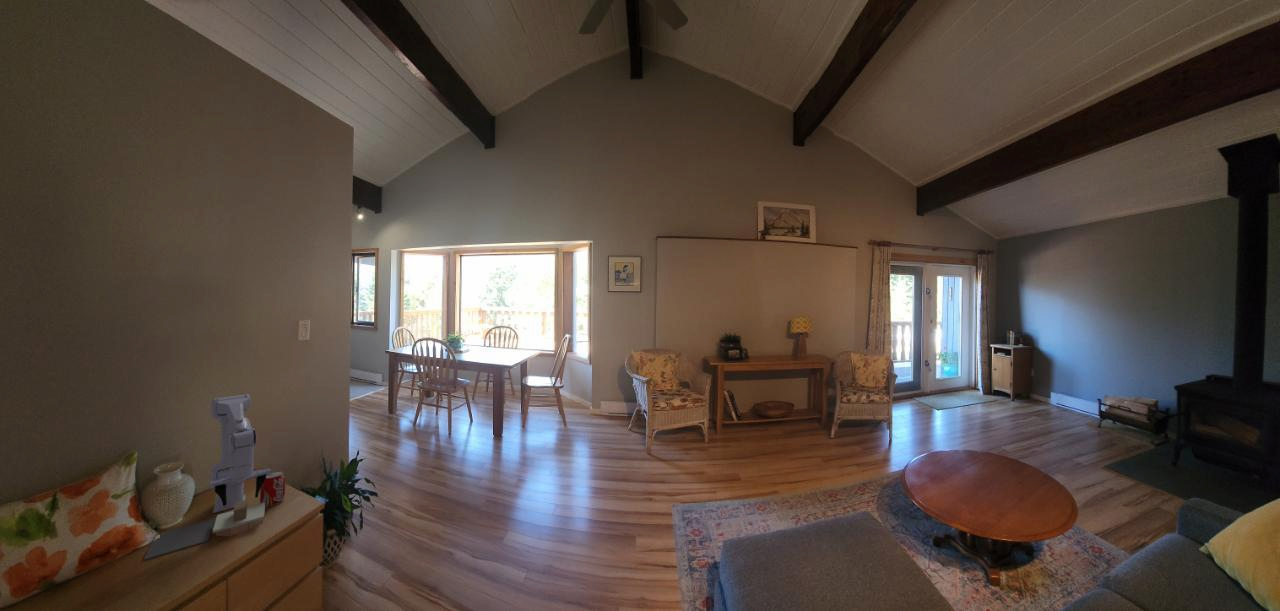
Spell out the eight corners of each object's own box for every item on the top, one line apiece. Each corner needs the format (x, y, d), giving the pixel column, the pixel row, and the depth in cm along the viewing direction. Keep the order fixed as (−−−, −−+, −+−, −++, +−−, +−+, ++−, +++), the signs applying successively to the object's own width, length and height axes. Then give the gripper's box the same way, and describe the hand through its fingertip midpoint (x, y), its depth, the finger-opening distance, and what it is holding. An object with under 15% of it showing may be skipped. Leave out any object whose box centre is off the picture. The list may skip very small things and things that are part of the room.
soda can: (268, 509, 138) (269, 479, 137) (254, 506, 139) (255, 477, 139) (289, 499, 145) (290, 471, 144) (276, 497, 146) (277, 469, 146)
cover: (217, 517, 127) (217, 504, 127) (265, 504, 136) (265, 492, 136) (212, 533, 119) (213, 519, 119) (264, 518, 128) (264, 505, 128)
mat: (156, 535, 121) (156, 534, 121) (214, 520, 130) (214, 518, 130) (143, 561, 110) (143, 559, 110) (208, 541, 119) (208, 540, 119)
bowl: (218, 525, 128) (219, 517, 127) (262, 512, 135) (263, 505, 135) (215, 540, 120) (215, 531, 120) (261, 526, 128) (262, 518, 128)
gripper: (209, 474, 119) (208, 513, 120) (270, 461, 130) (269, 497, 130) (212, 467, 124) (211, 504, 124) (270, 455, 135) (269, 489, 135)
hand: (241, 500), depth 128 cm, fingers open, 7 cm apart
